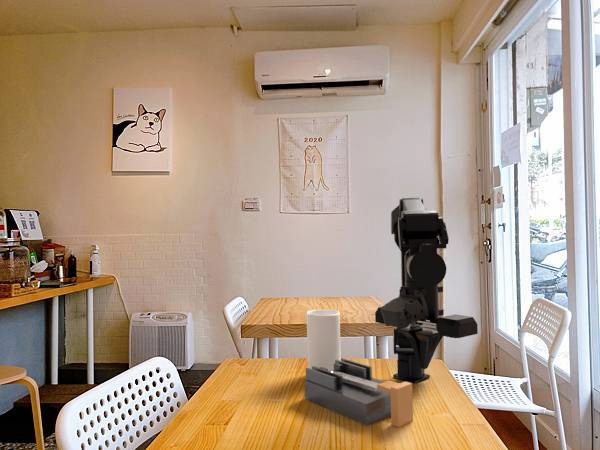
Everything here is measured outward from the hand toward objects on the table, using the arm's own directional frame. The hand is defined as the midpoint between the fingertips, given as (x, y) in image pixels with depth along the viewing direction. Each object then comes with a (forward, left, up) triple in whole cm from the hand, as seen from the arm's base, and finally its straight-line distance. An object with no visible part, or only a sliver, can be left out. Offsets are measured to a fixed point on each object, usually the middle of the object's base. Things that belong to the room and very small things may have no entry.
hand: (423, 368), depth 80 cm
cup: (-7, -35, -12) cm, 38 cm away
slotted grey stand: (0, -18, -11) cm, 21 cm away
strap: (0, -18, -7) cm, 19 cm away
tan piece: (0, -7, -11) cm, 14 cm away
